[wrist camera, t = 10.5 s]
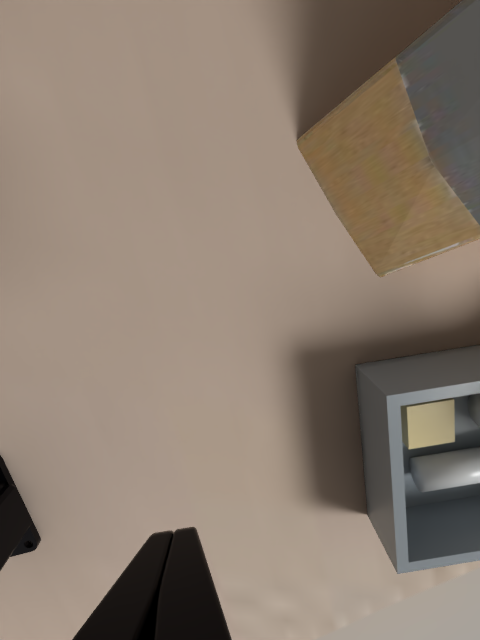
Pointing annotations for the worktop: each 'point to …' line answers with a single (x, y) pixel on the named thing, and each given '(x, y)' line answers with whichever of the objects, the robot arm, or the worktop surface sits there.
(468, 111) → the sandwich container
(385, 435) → the parts tub
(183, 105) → the worktop surface
